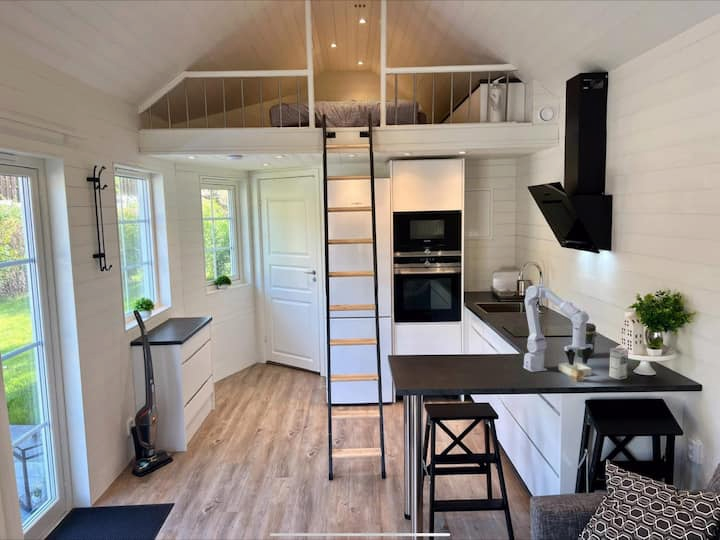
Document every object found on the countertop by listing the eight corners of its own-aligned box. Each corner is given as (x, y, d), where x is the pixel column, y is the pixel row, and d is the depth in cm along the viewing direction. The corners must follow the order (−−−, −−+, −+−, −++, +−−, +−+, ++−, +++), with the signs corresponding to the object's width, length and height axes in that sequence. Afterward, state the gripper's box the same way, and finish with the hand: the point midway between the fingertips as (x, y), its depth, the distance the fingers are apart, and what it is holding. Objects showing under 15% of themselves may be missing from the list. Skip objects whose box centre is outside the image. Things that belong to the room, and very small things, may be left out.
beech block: (576, 382, 241) (576, 372, 240) (570, 379, 244) (571, 369, 244) (583, 381, 242) (583, 371, 241) (577, 378, 245) (578, 368, 245)
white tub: (572, 377, 247) (572, 370, 246) (558, 370, 257) (558, 363, 257) (591, 375, 250) (591, 368, 249) (576, 368, 260) (576, 361, 260)
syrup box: (618, 379, 243) (620, 350, 241) (608, 376, 248) (610, 347, 246) (627, 378, 245) (629, 349, 243) (616, 374, 250) (618, 346, 249)
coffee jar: (589, 359, 275) (591, 326, 273) (575, 356, 281) (576, 324, 279) (596, 355, 282) (598, 323, 280) (582, 352, 288) (583, 321, 285)
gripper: (571, 339, 234) (570, 367, 236) (597, 337, 238) (596, 365, 240) (562, 336, 241) (560, 363, 243) (587, 334, 245) (586, 360, 247)
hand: (577, 364), depth 242 cm, fingers open, 7 cm apart
